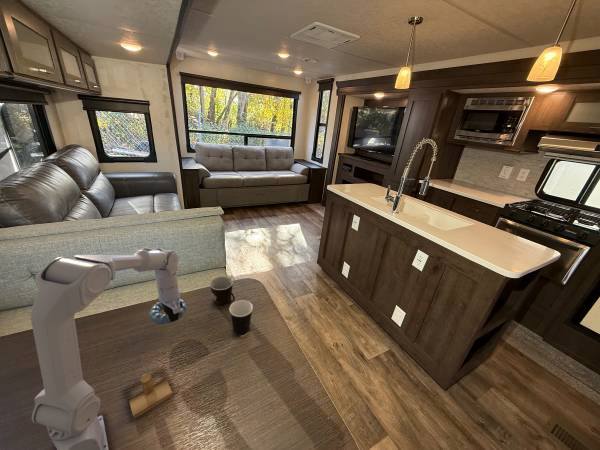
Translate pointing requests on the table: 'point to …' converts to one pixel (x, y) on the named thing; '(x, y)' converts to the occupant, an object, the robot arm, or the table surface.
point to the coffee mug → (222, 290)
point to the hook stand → (149, 395)
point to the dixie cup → (241, 316)
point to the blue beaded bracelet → (163, 318)
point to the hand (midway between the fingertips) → (172, 317)
